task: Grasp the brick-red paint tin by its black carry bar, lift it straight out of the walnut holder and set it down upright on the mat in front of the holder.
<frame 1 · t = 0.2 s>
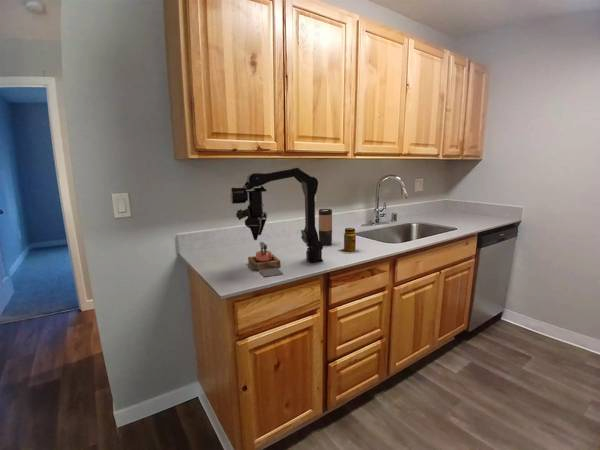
hand: (257, 237, 137), 14 cm above the counter, tool pointing down, fingers open, 9 cm apart
mat: (270, 272, 133), on the counter
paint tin: (263, 254, 142), in the holder
travel mug: (325, 244, 178), on the counter
condiment: (348, 251, 164), on the counter
holder: (264, 265, 143), on the counter
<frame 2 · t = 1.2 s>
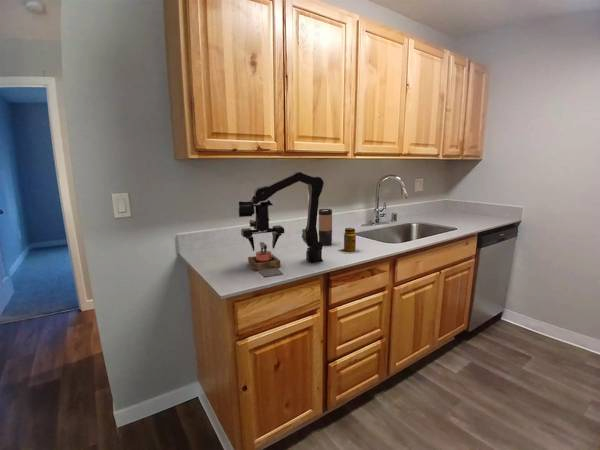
hand: (263, 249, 142), 7 cm above the counter, tool pointing down, fingers open, 9 cm apart
nothing on the counter moved.
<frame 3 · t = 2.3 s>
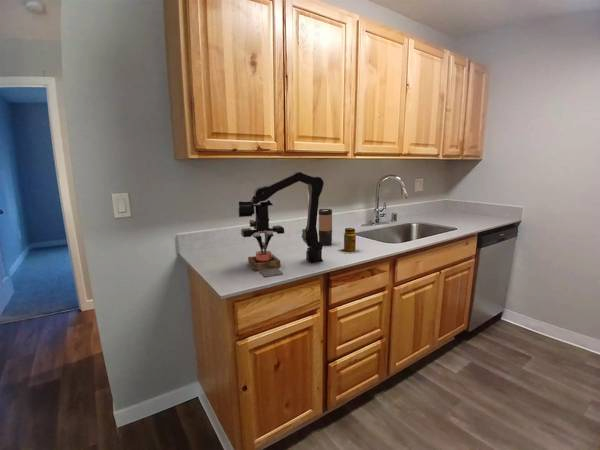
hand: (263, 249, 142), 7 cm above the counter, tool pointing down, fingers closed on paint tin
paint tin: (263, 254, 142), in the holder, touching gripper
everything else where it was.
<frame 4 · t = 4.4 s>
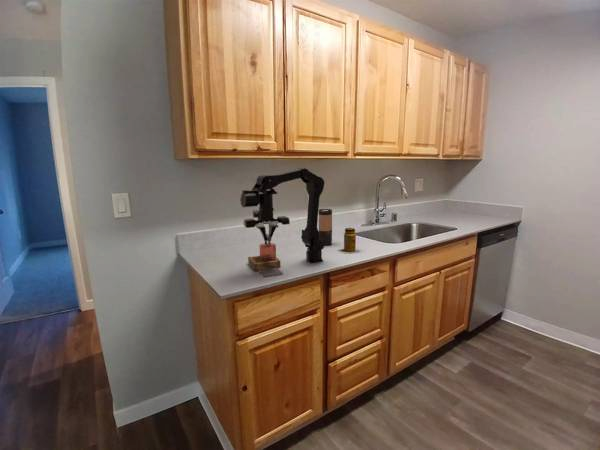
hand: (267, 241, 134), 13 cm above the counter, tool pointing down, fingers closed on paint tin
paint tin: (267, 247, 134), point 10 cm above the counter, touching gripper
everything else where it was.
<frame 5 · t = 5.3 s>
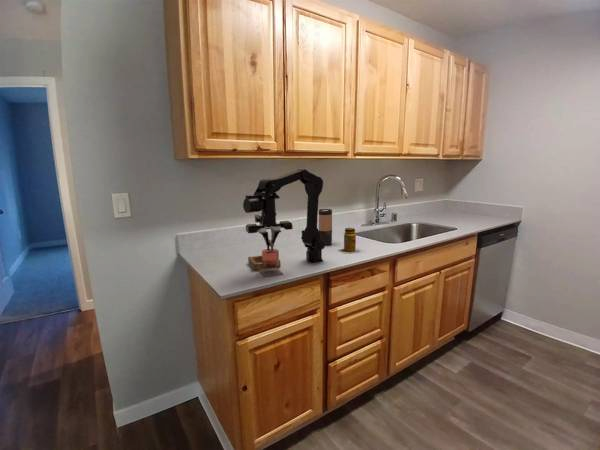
hand: (270, 246, 131), 11 cm above the counter, tool pointing down, fingers closed on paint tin
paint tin: (270, 252, 131), point 9 cm above the counter, touching gripper
everything else where it was.
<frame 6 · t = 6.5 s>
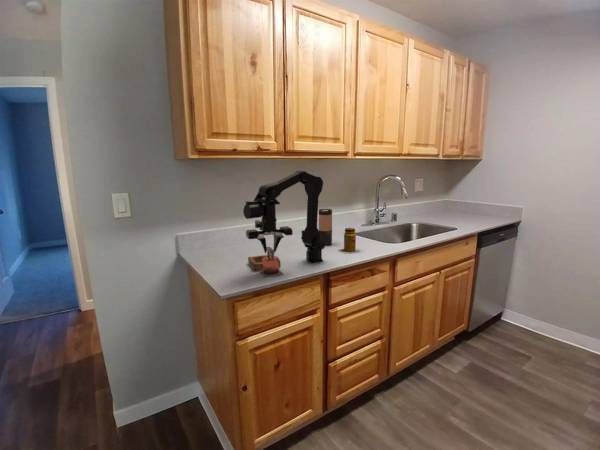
hand: (270, 252, 131), 9 cm above the counter, tool pointing down, fingers open, 4 cm apart
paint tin: (270, 260, 132), on the mat
everything else where it was.
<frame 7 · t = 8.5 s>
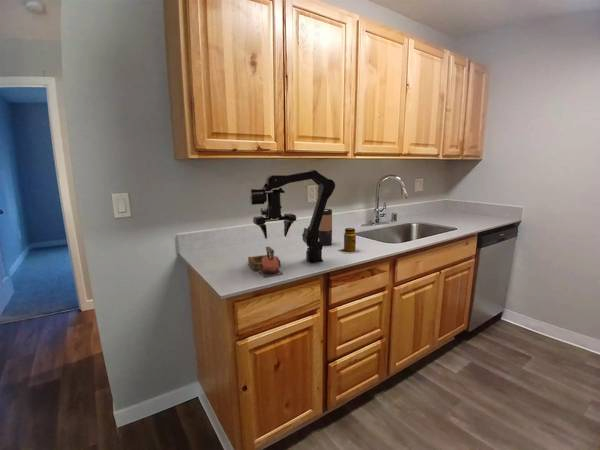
hand: (275, 237, 141), 13 cm above the counter, tool pointing down, fingers open, 9 cm apart
nothing on the counter moved.
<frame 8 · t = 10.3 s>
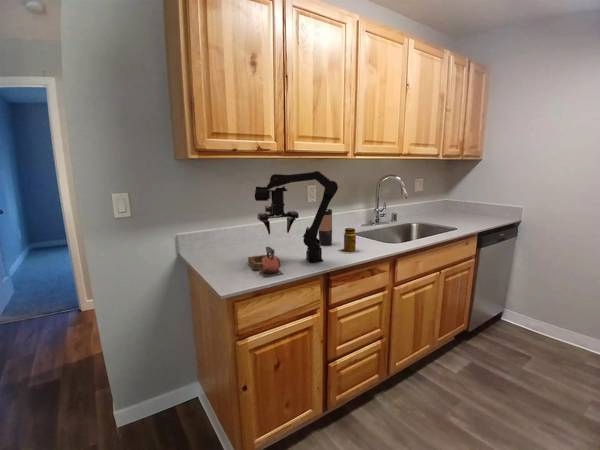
hand: (278, 233, 148), 13 cm above the counter, tool pointing down, fingers open, 9 cm apart
nothing on the counter moved.
at the end: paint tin 0.1 cm off-centre on the mat, point 5.6 cm above the mat's base; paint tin tilted 1°; the gripper is holding nothing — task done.
